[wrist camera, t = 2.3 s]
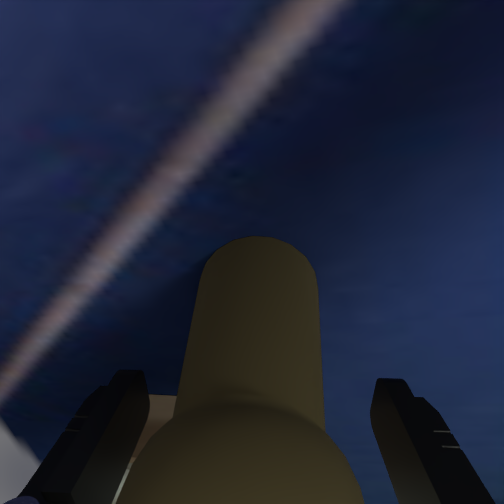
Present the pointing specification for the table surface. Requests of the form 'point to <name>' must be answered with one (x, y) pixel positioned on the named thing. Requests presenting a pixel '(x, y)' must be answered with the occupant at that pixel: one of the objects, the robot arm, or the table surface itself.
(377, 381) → the robot arm
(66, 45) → the table surface
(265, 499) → the cork
